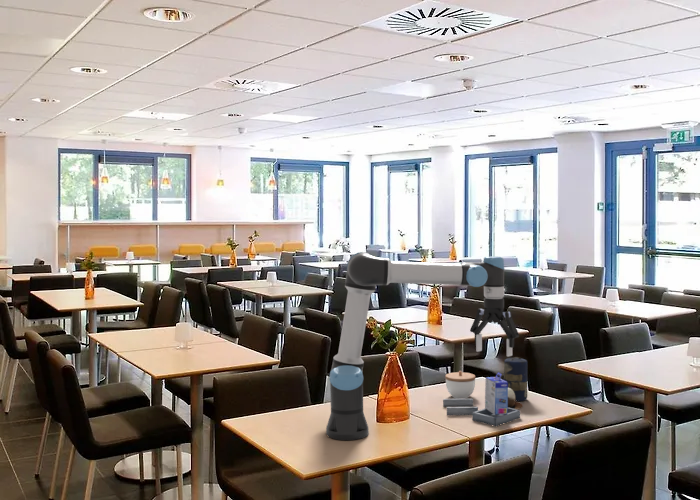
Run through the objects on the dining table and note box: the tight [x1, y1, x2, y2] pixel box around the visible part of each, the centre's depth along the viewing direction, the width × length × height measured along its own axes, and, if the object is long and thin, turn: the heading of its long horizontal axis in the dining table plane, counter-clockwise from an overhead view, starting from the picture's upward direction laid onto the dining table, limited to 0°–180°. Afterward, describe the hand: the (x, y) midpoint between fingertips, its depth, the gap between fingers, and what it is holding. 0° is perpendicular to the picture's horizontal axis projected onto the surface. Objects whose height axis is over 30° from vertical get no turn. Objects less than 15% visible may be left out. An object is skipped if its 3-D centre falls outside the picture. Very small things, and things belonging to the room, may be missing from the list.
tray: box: [471, 407, 521, 427], centre depth 263 cm, size 11×15×3 cm
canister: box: [503, 356, 528, 402], centre depth 290 cm, size 10×10×18 cm
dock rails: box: [442, 398, 479, 416], centre depth 276 cm, size 12×13×3 cm
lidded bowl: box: [444, 370, 476, 399], centre depth 296 cm, size 13×13×11 cm
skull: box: [508, 388, 523, 410], centre depth 281 cm, size 12×10×10 cm
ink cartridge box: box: [484, 372, 508, 415], centre depth 263 cm, size 10×6×14 cm, turn 12°
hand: (494, 353), depth 263 cm, fingers open, 13 cm apart
